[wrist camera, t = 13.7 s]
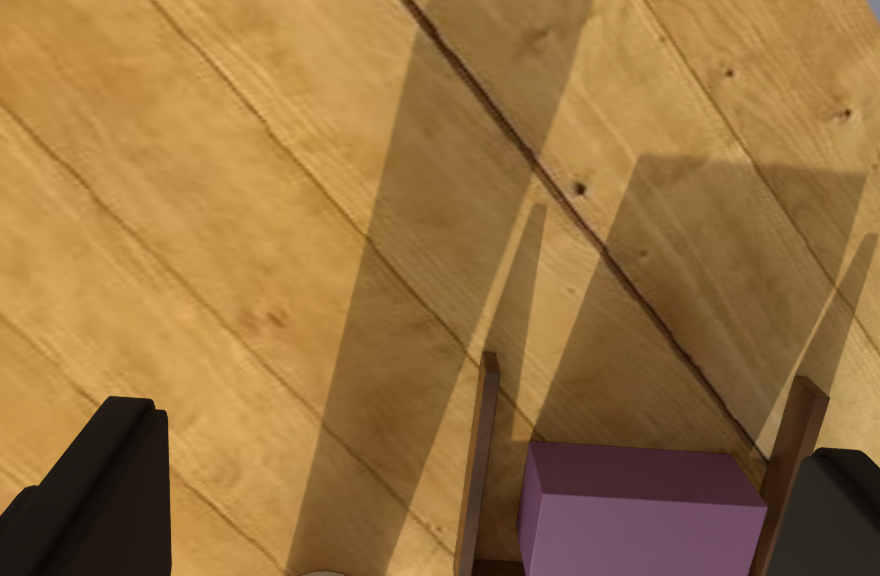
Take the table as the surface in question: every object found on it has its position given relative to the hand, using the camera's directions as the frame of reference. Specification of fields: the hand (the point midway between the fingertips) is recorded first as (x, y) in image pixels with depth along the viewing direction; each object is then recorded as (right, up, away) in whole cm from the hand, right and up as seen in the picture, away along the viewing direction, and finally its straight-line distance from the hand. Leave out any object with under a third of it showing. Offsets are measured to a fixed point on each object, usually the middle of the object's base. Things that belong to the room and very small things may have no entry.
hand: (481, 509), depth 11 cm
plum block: (+10, -9, +34) cm, 36 cm away
